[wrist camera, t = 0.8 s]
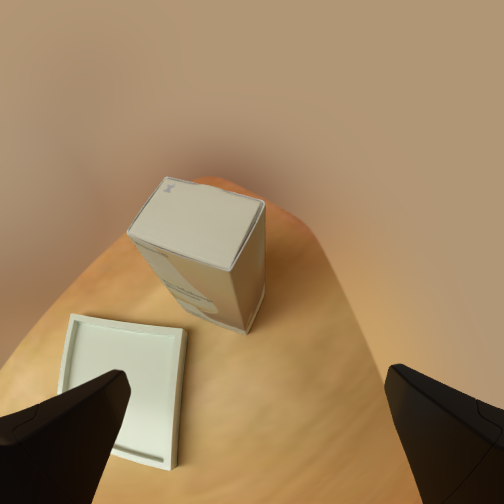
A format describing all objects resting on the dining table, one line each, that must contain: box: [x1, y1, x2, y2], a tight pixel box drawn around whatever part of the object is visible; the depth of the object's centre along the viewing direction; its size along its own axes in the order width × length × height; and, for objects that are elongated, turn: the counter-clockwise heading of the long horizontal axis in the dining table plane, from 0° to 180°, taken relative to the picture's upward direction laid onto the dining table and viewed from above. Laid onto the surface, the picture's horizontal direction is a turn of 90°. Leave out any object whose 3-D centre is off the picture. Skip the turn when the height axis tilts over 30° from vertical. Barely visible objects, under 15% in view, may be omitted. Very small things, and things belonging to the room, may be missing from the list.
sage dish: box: [57, 313, 188, 471], centre depth 19 cm, size 12×12×2 cm
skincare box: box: [127, 177, 266, 335], centre depth 18 cm, size 6×4×12 cm
